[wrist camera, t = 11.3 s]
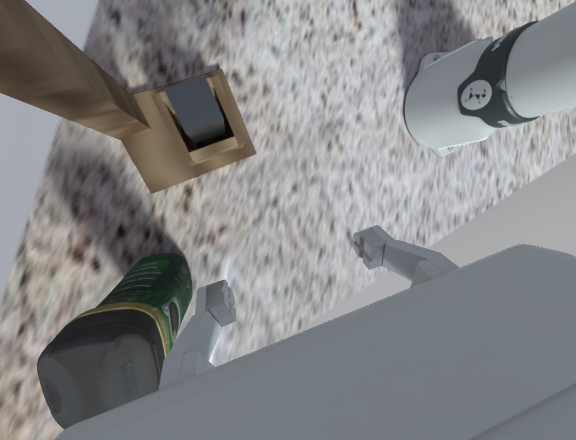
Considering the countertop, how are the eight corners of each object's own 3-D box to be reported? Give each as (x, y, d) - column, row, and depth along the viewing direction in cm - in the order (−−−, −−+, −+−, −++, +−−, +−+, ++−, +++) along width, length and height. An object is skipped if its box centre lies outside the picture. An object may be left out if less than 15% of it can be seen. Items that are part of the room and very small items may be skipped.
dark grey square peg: (213, 110, 29) (204, 75, 20) (225, 138, 30) (223, 118, 21) (185, 119, 29) (163, 88, 19) (199, 148, 30) (184, 131, 20)
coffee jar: (130, 256, 31) (-2, 353, 13) (188, 249, 33) (140, 325, 15) (142, 314, 33) (39, 467, 15) (196, 304, 35) (161, 429, 17)
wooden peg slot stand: (222, 73, 30) (210, -98, 12) (255, 154, 33) (286, 119, 15) (105, 107, 27) (-149, -47, 9) (154, 193, 30) (39, 208, 12)
